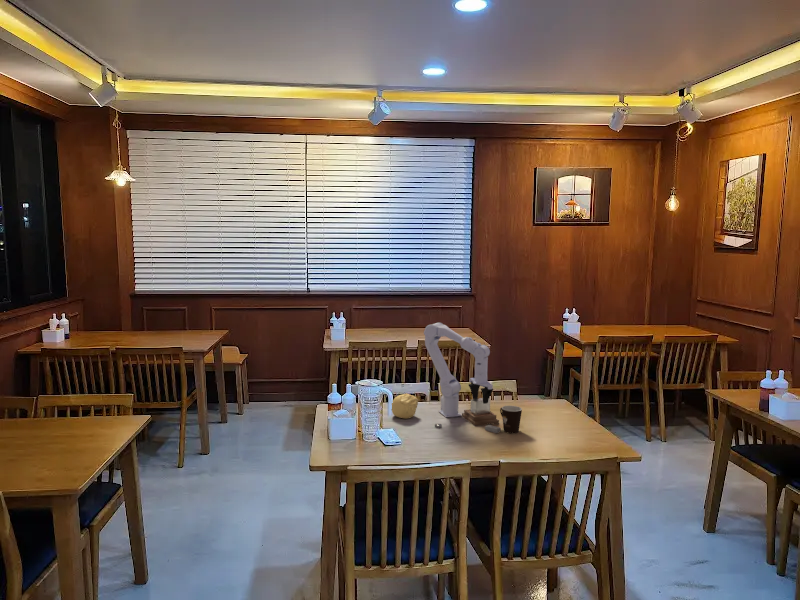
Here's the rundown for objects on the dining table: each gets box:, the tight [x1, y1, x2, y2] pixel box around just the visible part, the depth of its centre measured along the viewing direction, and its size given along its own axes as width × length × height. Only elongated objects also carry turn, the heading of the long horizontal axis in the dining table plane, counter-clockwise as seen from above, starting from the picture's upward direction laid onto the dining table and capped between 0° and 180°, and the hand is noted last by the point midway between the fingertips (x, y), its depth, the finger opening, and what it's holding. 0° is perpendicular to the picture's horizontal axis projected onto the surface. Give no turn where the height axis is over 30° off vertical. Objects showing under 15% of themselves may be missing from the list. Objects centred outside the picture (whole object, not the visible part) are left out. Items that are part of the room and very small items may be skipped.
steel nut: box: [434, 423, 443, 429], centre depth 246 cm, size 3×3×1 cm
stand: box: [461, 408, 500, 427], centre depth 256 cm, size 14×12×4 cm
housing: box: [470, 397, 491, 415], centre depth 256 cm, size 4×8×6 cm, turn 119°
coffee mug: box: [499, 405, 523, 434], centre depth 243 cm, size 12×9×10 cm
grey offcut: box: [484, 424, 502, 434], centre depth 242 cm, size 6×3×2 cm, turn 49°
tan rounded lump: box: [391, 392, 419, 420], centre depth 260 cm, size 12×12×11 cm
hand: (480, 401), depth 256 cm, fingers open, 7 cm apart
